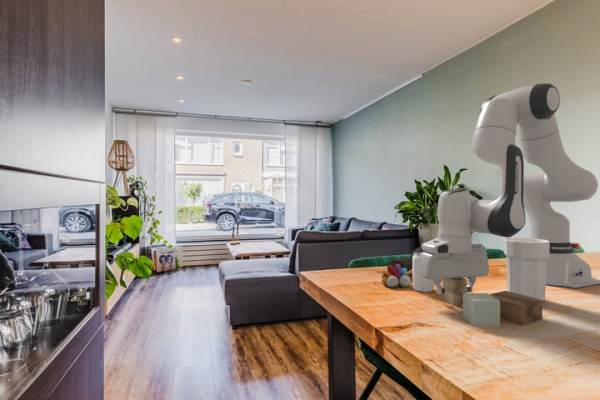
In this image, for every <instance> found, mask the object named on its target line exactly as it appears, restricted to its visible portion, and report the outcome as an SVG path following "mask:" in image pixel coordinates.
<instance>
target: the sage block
mask: <svg viewBox="0 0 600 400" xmlns="http://www.w3.org/2000/svg"><path fill="white" fill-rule="evenodd" d="M489 294H490V293H485V292H481V293H479V292H478V293H477V292H475V293H473V292H467V293H463V304H462V317H463V318H464V317H465V318H466V319H465V318H464V319H465V320H466V321H468V322H469V323H470V324H471V325H472V326H474V327H475V326H476V327H500V326H501V319H500V301H499V300H498V299H496V298H494V297H493V296H491V295H489Z"/></svg>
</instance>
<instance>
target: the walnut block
mask: <svg viewBox="0 0 600 400" xmlns="http://www.w3.org/2000/svg"><path fill="white" fill-rule="evenodd" d="M488 294H489V295H491V296H493V297H494V298H496V299H498V300H499V301H500V321H501V320H502V321H504V322H508V323H511V324H514V325H517V326H520V327H522V326H525V325H529V324H532V323H534V322H537V321H541V320H543V303H542V300H540V299H536V298H533V297H529V296H525V295H521V294H517V293H513V292H509V291H508V290H503V291H498V292H494V293H488Z"/></svg>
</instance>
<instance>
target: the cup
mask: <svg viewBox="0 0 600 400" xmlns="http://www.w3.org/2000/svg"><path fill="white" fill-rule="evenodd" d="M549 249H550V242H549V241H547V240H542V239H533V238H530V237H503V254H504V255H505V256H506V258H505V259H506V279H507V280H506V283H507V287H506V288H507V291H509V292H513V293H517V294H521V295H525V296H529V297H533V298H536V299H540V300H542V304H544V303H546V288H547V284H546V262H547V259H548V258H549Z"/></svg>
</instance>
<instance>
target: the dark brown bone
mask: <svg viewBox="0 0 600 400" xmlns="http://www.w3.org/2000/svg"><path fill="white" fill-rule="evenodd" d="M414 252H425V251H423V250H422V245H421V246H420V247H417V248H415V249H414V250H413V251H412V252H411V253H410V256H409V257H406V258H393V259H391V260H390V261H389V262H387V267H386V268H387V269H386V271H387V272H390V271H389V268H388V266H389V265H392V267H393V268H394V267H395V265H396V264H399V265H400V266H401V269H402V268H406V269H407V273H409V272H410V271H413V255H414Z"/></svg>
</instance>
